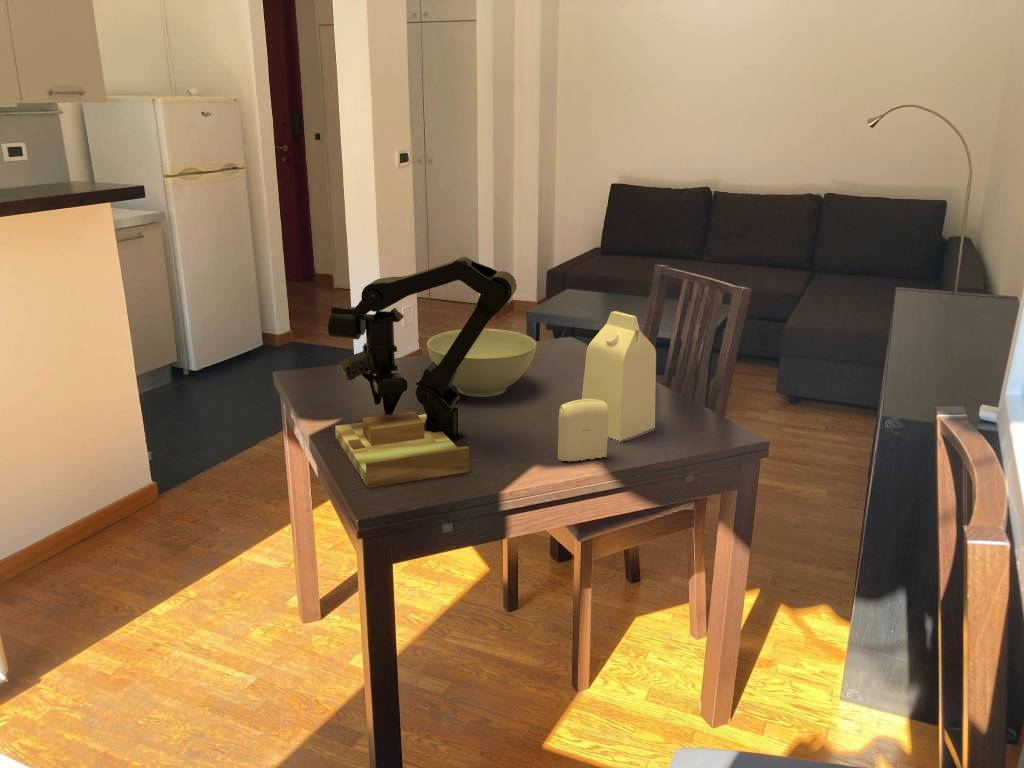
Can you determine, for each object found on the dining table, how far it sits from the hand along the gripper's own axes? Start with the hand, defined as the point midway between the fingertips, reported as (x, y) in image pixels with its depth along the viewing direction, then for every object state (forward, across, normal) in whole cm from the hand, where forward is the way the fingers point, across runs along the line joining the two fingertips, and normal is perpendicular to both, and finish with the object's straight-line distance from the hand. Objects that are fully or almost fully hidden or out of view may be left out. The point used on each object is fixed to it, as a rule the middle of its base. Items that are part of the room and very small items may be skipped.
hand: (382, 411), depth 183 cm
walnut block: (+2, +9, 0) cm, 9 cm away
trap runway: (+5, +12, 0) cm, 13 cm away
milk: (+5, +16, +48) cm, 51 cm away
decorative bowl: (+5, -20, +30) cm, 37 cm away
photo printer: (+5, +27, +34) cm, 44 cm away
